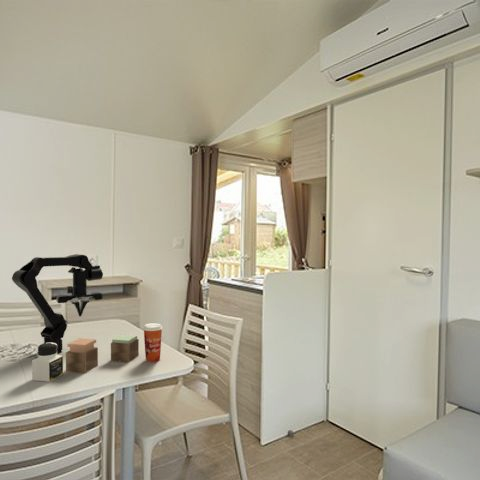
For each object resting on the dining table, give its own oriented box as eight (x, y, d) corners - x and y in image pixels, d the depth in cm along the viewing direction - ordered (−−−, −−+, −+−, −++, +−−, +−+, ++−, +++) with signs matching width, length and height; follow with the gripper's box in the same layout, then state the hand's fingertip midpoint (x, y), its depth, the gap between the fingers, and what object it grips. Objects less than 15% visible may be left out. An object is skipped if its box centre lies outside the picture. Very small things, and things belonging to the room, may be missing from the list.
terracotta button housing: (65, 371, 141) (65, 352, 141) (79, 363, 149) (79, 346, 148) (85, 373, 139) (85, 354, 139) (97, 365, 147) (97, 347, 147)
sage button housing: (110, 360, 153) (110, 343, 152) (121, 354, 160) (121, 337, 160) (129, 361, 151) (129, 344, 151) (138, 355, 159) (138, 338, 158)
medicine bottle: (49, 382, 131) (49, 347, 130) (31, 380, 132) (31, 346, 132) (63, 374, 138) (63, 341, 137) (46, 373, 139) (45, 340, 139)
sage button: (112, 357, 153) (112, 339, 153) (121, 351, 160) (121, 334, 160) (128, 358, 151) (128, 340, 151) (137, 352, 158) (137, 335, 158)
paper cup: (145, 364, 149) (145, 328, 148) (141, 358, 155) (141, 324, 155) (165, 361, 152) (165, 326, 152) (160, 355, 159) (159, 322, 159)
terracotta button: (67, 362, 141) (67, 343, 141) (79, 356, 148) (79, 338, 148) (84, 364, 140) (84, 344, 139) (96, 357, 147) (96, 339, 146)
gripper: (97, 278, 184) (97, 310, 185) (54, 281, 174) (55, 315, 175) (102, 281, 175) (102, 315, 176) (58, 284, 165) (58, 320, 165)
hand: (80, 316), depth 173 cm, fingers closed
